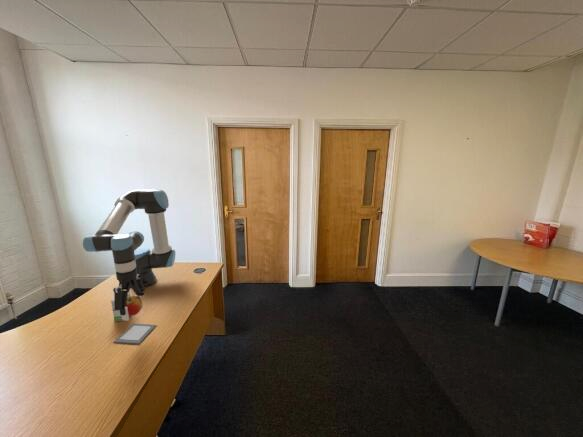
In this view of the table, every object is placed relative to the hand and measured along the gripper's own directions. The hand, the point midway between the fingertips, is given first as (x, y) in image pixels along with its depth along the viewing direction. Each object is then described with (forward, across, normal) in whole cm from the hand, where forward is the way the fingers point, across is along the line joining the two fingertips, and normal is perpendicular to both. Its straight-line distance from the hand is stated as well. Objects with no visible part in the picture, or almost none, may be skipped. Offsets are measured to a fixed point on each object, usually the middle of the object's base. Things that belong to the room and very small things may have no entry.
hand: (133, 313), depth 104 cm
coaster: (+11, 0, 0) cm, 11 cm away
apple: (+1, 0, 0) cm, 1 cm away
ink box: (+11, -12, -16) cm, 23 cm away
